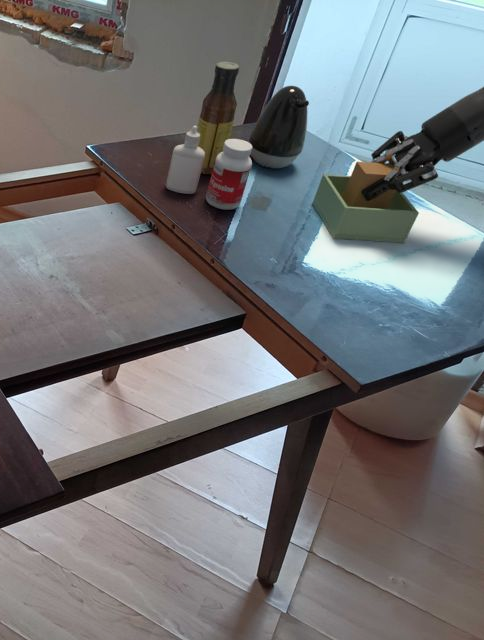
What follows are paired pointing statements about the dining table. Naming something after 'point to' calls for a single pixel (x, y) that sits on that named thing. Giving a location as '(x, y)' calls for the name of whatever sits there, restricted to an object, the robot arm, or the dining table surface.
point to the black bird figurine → (280, 129)
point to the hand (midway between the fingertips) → (359, 189)
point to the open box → (362, 214)
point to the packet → (362, 179)
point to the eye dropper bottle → (186, 165)
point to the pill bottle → (230, 175)
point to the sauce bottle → (217, 114)
